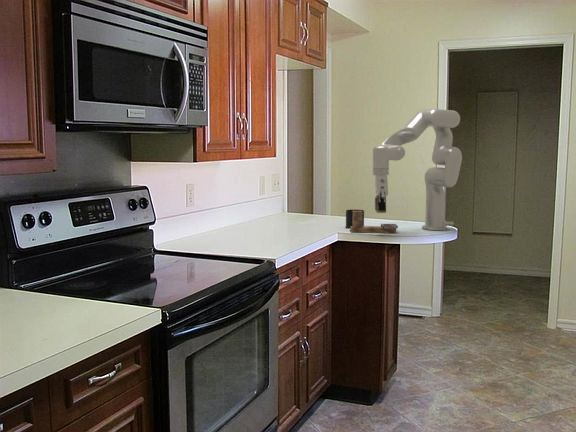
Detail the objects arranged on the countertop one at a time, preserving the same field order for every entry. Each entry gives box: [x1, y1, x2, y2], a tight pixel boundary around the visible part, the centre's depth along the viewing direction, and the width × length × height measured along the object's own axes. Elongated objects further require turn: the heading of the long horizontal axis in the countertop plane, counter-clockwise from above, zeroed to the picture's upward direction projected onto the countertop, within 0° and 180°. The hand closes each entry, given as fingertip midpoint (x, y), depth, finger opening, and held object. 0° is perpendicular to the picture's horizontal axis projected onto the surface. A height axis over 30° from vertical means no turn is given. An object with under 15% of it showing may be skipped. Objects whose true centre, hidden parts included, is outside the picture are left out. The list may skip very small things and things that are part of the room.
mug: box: [345, 208, 365, 229], centre depth 325 cm, size 9×12×9 cm
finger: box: [374, 194, 387, 214], centre depth 300 cm, size 5×4×8 cm
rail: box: [349, 211, 399, 234], centre depth 310 cm, size 23×7×10 cm, turn 89°
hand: (381, 209), depth 300 cm, fingers closed on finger, 4 cm apart
